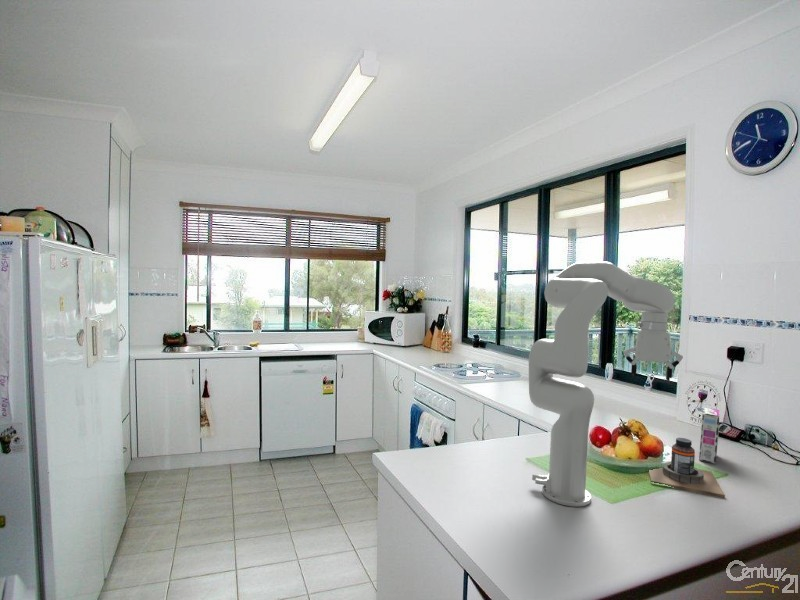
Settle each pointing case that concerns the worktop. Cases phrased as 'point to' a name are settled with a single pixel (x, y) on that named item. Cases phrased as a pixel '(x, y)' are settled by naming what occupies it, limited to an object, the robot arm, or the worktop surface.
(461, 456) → the worktop surface
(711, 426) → the candy bar box
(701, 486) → the collar board
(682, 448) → the supplement bottle
